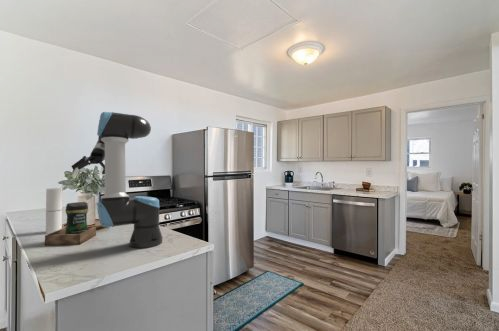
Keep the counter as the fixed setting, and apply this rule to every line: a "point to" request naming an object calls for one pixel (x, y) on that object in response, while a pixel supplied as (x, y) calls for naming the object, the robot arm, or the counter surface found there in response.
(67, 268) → the counter surface
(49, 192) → the cylindrical container
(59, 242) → the cradle
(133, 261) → the counter surface
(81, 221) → the coffee jar
